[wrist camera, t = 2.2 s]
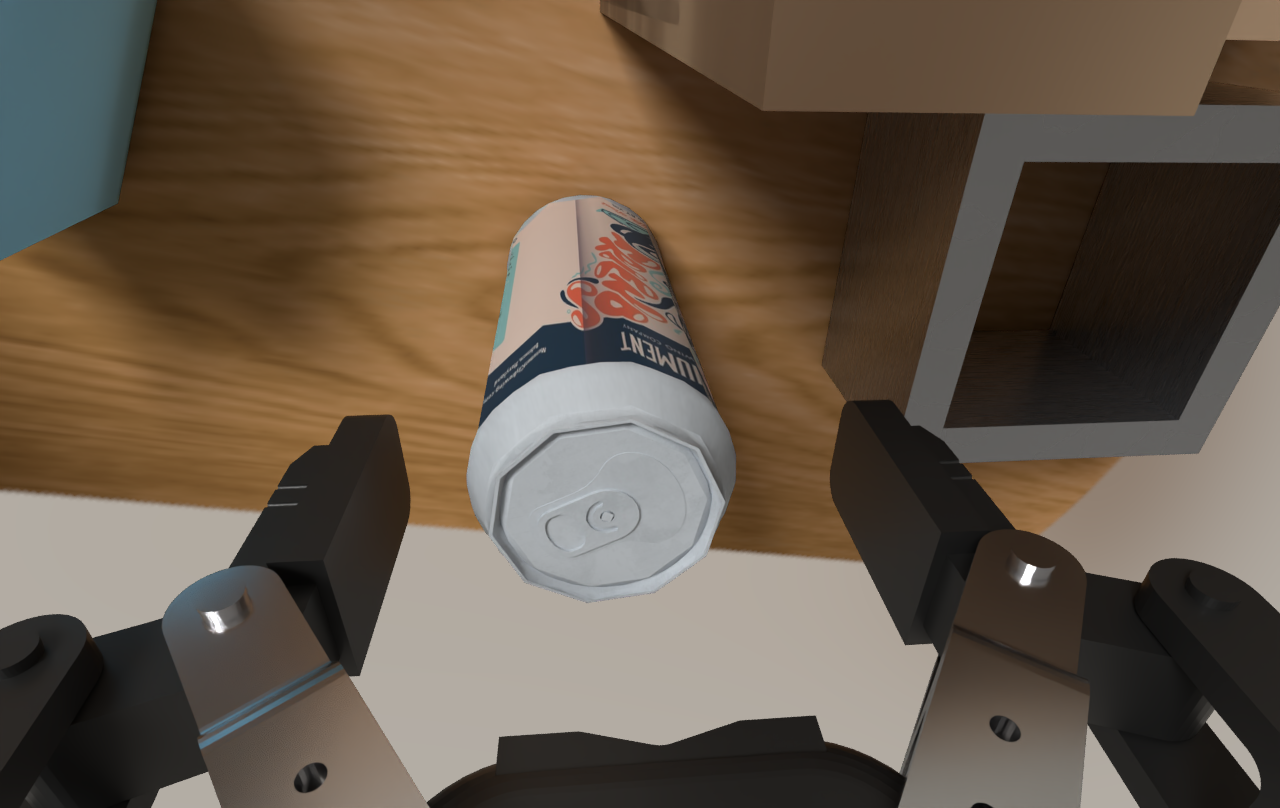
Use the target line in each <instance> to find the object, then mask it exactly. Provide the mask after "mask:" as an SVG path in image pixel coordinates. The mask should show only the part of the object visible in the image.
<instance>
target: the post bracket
mask: <svg viewBox="0 0 1280 808" xmlns="http://www.w3.org/2000/svg"><path fill="white" fill-rule="evenodd" d="M1024 162H1111V164H1110V167H1109V170H1108V173H1107V175H1106V178H1105V181H1104V183H1103V186H1102V189H1101V192H1100V194H1099V197H1098V200H1097V202H1096V205H1095V208H1094V211H1093V213H1092V216H1091V219H1090V222H1089V224H1088V227H1087V230H1086V232H1085V235H1084V238H1083V241H1082V243H1081V246H1080V249H1079V251H1078V254H1077V257H1076V260H1075V262H1074V265H1073V268H1072V270H1071V273H1070V276H1069V279H1068V281H1067V284H1066V287H1065V289H1064V292H1063V295H1062V298H1061V300H1060V303H1059V306H1058V308H1057V311H1056V314H1055V317H1054V319H1053V322H1052V325H1051V327H1050V330H1020V331H973V328H974V325H975V321H976V318H977V315H978V312H979V308H980V305H981V302H982V298H983V295H984V292H985V289H986V285H987V282H988V279H989V275H990V272H991V269H992V266H993V262H994V259H995V256H996V252H997V249H998V246H999V243H1000V239H1001V236H1002V233H1003V229H1004V226H1005V223H1006V220H1007V216H1008V213H1009V210H1010V206H1011V203H1012V200H1013V197H1014V193H1015V190H1016V187H1017V183H1018V180H1019V177H1020V174H1021V170H1022V167H1023V164H1024ZM1279 306H1280V92H1279V91H1272V90H1265V89H1258V88H1251V87H1244V86H1237V85H1230V84H1223V83H1216V82H1209V81H1208V84H1207V86H1206V88H1205V91H1204V93H1203V96H1202V98H1201V101H1200V103H1199V105H1198V108H1197V110H1196V113H1195V115H1194V116H1152V115H1068V114H984V113H900V112H868V116H867V122H866V127H865V132H864V138H863V143H862V149H861V154H860V160H859V165H858V171H857V176H856V181H855V187H854V192H853V198H852V203H851V209H850V214H849V220H848V225H847V230H846V236H845V241H844V247H843V252H842V258H841V263H840V268H839V274H838V279H837V285H836V290H835V296H834V301H833V307H832V312H831V317H830V323H829V328H828V334H827V339H826V345H825V350H824V356H823V361H822V366H823V368H824V369H825V371H826V372H827V374H828V375H829V376H830V378H831V379H832V381H833V382H834V384H835V385H836V387H837V388H838V389H839V391H840V392H841V394H842V395H843V397H844V398H845V400H846V401H847V402H848V401H857V400H891V401H893V403H894V404H895V405H896V406H897V408H898V409H899V410H900V412H901V413H902V414H903V415H904V417H905V418H906V419H907V421H908V422H909V423H910V425H911V426H917V425H920V426H922V427H923V428H925V429H926V430H928V431H929V432H931V433H932V434H934V435H935V436H937V437H938V438H940V439H942V440H943V441H944V442H945V443H946V444H947V445H948V447H949V448H950V449H951V450H952V451H953V453H954V454H955V455H956V456H957V458H958V459H959V463H972V462H997V461H1021V460H1046V459H1071V458H1096V457H1121V456H1144V455H1170V454H1193V453H1194V454H1195V453H1199V452H1200V450H1201V448H1202V446H1203V444H1204V443H1205V441H1206V439H1207V437H1208V435H1209V433H1210V431H1211V430H1212V428H1213V426H1214V424H1215V423H1216V421H1217V419H1218V417H1219V415H1220V413H1221V411H1222V410H1223V408H1224V406H1225V404H1226V402H1227V401H1228V399H1229V397H1230V395H1231V393H1232V391H1233V390H1234V388H1235V386H1236V384H1237V382H1238V381H1239V379H1240V377H1241V375H1242V373H1243V371H1244V370H1245V368H1246V366H1247V364H1248V362H1249V360H1250V359H1251V357H1252V355H1253V353H1254V351H1255V350H1256V348H1257V346H1258V344H1259V342H1260V340H1261V339H1262V337H1263V335H1264V333H1265V331H1266V329H1267V328H1268V326H1269V324H1270V322H1271V320H1272V319H1273V317H1274V315H1275V313H1276V311H1277V309H1278V308H1279Z"/></svg>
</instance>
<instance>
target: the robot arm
mask: <svg viewBox="0 0 1280 808" xmlns="http://www.w3.org/2000/svg"><path fill="white" fill-rule="evenodd" d="M830 487H831V494H832V498H833V501H834V503H835V506H836V508H837V510H838V512H839V514H840V516H841V518H842V520H843V522H844V524H845V526H846V528H847V530H848V532H849V534H850V536H851V538H852V540H853V542H854V544H855V546H856V548H857V550H858V552H859V554H860V556H861V558H862V560H863V562H864V564H865V566H866V567H867V569H868V572H869V574H870V575H871V578H872V580H873V582H874V584H875V586H876V588H877V590H878V592H879V594H880V596H881V598H882V600H883V601H884V604H885V605H886V608H887V610H888V611H889V614H890V616H891V617H892V619H893V621H894V623H895V626H896V628H897V630H898V631H899V634H900V636H901V637H902V639H903V642H904V644H905V645H915V644H932V643H933V645H934V647H935V649H936V650H937V652H938V657H937V660H936V662H935V665H934V668H933V671H932V674H931V677H930V680H929V684H928V687H927V690H926V693H925V696H924V699H923V702H922V705H921V708H920V712H919V715H918V718H917V721H916V724H915V727H914V730H913V734H912V736H911V740H910V743H909V746H908V749H907V752H906V755H905V758H904V761H903V764H902V767H901V770H900V773H898V772H896V771H895V770H894V769H892V768H891V767H889V766H887V765H885V764H883V763H882V762H880V761H878V760H876V759H874V758H872V757H870V756H868V755H866V754H863V753H861V752H859V751H856V750H854V749H850V748H848V747H844V746H841V745H838V744H834V743H829V742H825V741H824V740H823V737H822V734H821V731H820V728H819V725H818V722H817V719H816V716H801V717H787V718H772V719H758V720H742V721H737V722H734V723H731V724H728V725H725V726H722V727H719V728H716V729H714V730H710V731H707V732H705V733H702V734H698V735H696V736H693V737H690V738H687V739H684V740H681V741H678V742H675V743H672V744H668V745H660V746H659V745H651V744H645V743H640V742H634V741H629V740H623V739H617V738H612V737H606V736H601V735H595V734H590V733H584V732H565V733H550V734H536V735H521V736H505V737H499V744H498V754H497V764H494V765H491V766H488V767H485V768H482V769H480V770H478V771H476V772H474V773H472V774H469V775H467V776H465V777H463V778H461V779H460V780H458V781H456V782H455V783H453V784H451V785H450V786H448V787H447V788H445V789H444V790H442V791H441V792H440V793H438V794H437V795H436V796H434V797H433V798H432V799H430V800H429V801H428V802H427V803H426V801H425V800H424V798H423V796H422V795H421V793H420V791H419V790H418V788H417V787H416V785H415V783H414V782H413V780H412V778H411V777H410V775H409V774H408V772H407V770H406V769H405V767H404V765H403V764H402V762H401V760H400V759H399V757H398V756H397V754H396V752H395V751H394V749H393V748H392V746H391V744H390V743H389V741H388V739H387V738H386V736H385V734H384V733H383V731H382V730H381V728H380V726H379V725H378V723H377V721H376V720H375V718H374V717H373V715H372V714H371V712H370V710H369V708H368V707H367V705H366V704H365V702H364V700H363V699H362V697H361V695H360V694H359V692H358V691H357V689H356V687H355V686H354V684H353V682H352V681H351V679H350V678H349V676H360V673H361V670H362V667H363V664H364V660H365V657H366V654H367V651H368V647H369V644H370V641H371V638H372V634H373V632H374V628H375V625H376V622H377V619H378V615H379V612H380V609H381V606H382V603H383V600H384V596H385V593H386V590H387V587H388V583H389V580H390V577H391V574H392V571H393V568H394V564H395V561H396V558H397V555H398V552H399V549H400V545H401V542H402V539H403V536H404V532H405V529H406V526H407V523H408V519H409V514H410V487H409V482H408V477H407V472H406V467H405V463H404V458H403V453H402V448H401V443H400V439H399V434H398V429H397V425H396V422H395V419H394V417H393V416H392V415H362V416H346V417H345V418H344V419H343V420H342V422H341V424H340V426H339V427H338V429H337V431H336V433H335V435H334V437H333V439H332V440H331V442H330V444H329V445H320V446H313V447H312V448H311V449H309V450H308V451H307V452H306V453H304V454H303V455H302V456H301V457H299V458H298V459H297V460H295V461H294V462H293V463H292V464H290V466H289V468H288V469H287V471H286V473H285V475H284V476H283V478H282V480H281V481H280V483H279V485H278V490H275V491H274V493H273V495H272V496H271V498H270V500H269V501H268V507H266V508H264V510H263V511H262V513H261V515H260V517H259V518H258V520H257V522H256V523H255V525H254V527H253V528H252V530H251V532H250V533H249V535H248V537H247V538H246V540H245V542H244V543H243V545H242V547H241V548H240V550H239V552H238V553H237V555H236V557H235V559H234V560H233V562H232V564H231V565H230V567H229V568H228V569H224V570H221V571H218V572H215V573H213V574H210V575H208V576H206V577H204V578H202V579H200V580H198V581H197V582H195V583H194V584H192V585H190V586H189V587H188V588H186V589H185V590H184V591H182V592H181V593H180V594H179V595H178V596H177V597H176V598H175V599H174V600H173V602H172V603H171V604H170V605H169V607H168V609H167V610H166V612H165V614H164V617H163V618H162V619H158V620H155V621H152V622H149V623H145V624H142V625H138V626H134V627H130V628H127V629H123V630H120V631H117V632H113V633H109V634H105V635H102V636H98V637H95V638H92V637H91V635H90V633H89V632H88V630H87V628H86V627H85V625H84V624H83V623H82V622H81V621H80V620H79V619H77V618H76V617H72V616H69V615H61V614H56V615H55V614H53V615H44V616H38V617H34V618H30V619H26V620H23V621H20V622H17V623H14V624H12V625H10V626H7V627H5V628H2V629H1V630H0V808H151V806H152V804H153V802H154V800H155V798H156V796H157V793H158V791H159V789H160V788H163V787H166V786H169V785H172V784H174V783H177V782H180V781H183V780H186V779H188V778H191V777H194V776H197V775H200V774H203V773H205V772H209V775H210V777H211V780H212V783H213V786H214V788H215V791H216V794H217V797H218V799H219V802H220V805H221V808H1080V802H1081V792H1082V780H1083V769H1084V757H1085V745H1086V734H1087V724H1088V726H1089V727H1090V729H1091V731H1092V732H1093V734H1094V735H1095V737H1096V738H1097V740H1098V742H1099V743H1100V745H1101V747H1102V748H1103V750H1104V751H1105V753H1106V754H1107V756H1108V758H1109V759H1110V761H1111V762H1112V764H1113V766H1114V767H1115V769H1116V770H1117V772H1118V774H1119V775H1120V777H1121V778H1122V780H1123V782H1124V783H1125V785H1126V786H1127V788H1128V790H1129V791H1130V793H1131V794H1132V796H1133V798H1134V799H1135V801H1136V802H1137V804H1138V806H1139V807H1140V808H1280V613H1279V612H1278V611H1277V610H1276V609H1275V608H1274V607H1273V606H1272V605H1271V604H1270V603H1269V602H1267V601H1266V600H1265V599H1264V598H1263V597H1262V596H1261V595H1260V594H1259V593H1258V592H1257V591H1255V590H1254V589H1253V588H1252V587H1250V586H1249V585H1248V584H1246V583H1245V582H1243V581H1242V580H1240V579H1238V578H1237V577H1235V576H1233V575H1231V574H1229V573H1227V572H1225V571H1223V570H1221V569H1218V568H1216V567H1214V566H1211V565H1208V564H1205V563H1202V562H1198V561H1194V560H1188V559H1177V558H1171V559H1164V560H1160V561H1158V562H1156V563H1155V564H1153V565H1152V566H1151V568H1150V570H1149V572H1148V573H1147V575H1146V577H1145V579H1144V581H1143V582H1142V583H1140V582H1134V581H1129V580H1123V579H1118V578H1112V577H1106V576H1101V575H1095V574H1090V573H1086V572H1085V571H1084V569H1083V567H1082V566H1081V564H1080V563H1079V562H1078V561H1077V559H1076V558H1075V557H1074V556H1073V555H1072V554H1071V553H1070V552H1068V551H1067V550H1065V549H1064V548H1063V547H1061V546H1060V545H1058V544H1056V543H1055V542H1053V541H1051V540H1049V539H1047V538H1045V537H1042V536H1040V535H1037V534H1034V533H1030V532H1026V531H1021V530H1016V529H1015V528H1014V527H1013V526H1012V524H1011V523H1010V522H1009V521H1008V519H1007V518H1006V517H1005V516H1004V515H1003V513H1002V512H1001V511H1000V510H999V508H998V507H997V506H996V505H995V503H994V502H993V501H992V500H991V498H990V497H989V496H988V495H987V494H986V492H985V491H984V490H983V489H982V487H981V486H980V485H979V484H978V482H977V481H976V480H975V479H972V475H971V474H970V472H969V471H968V470H967V469H966V468H965V466H964V465H963V464H960V463H959V459H958V458H957V456H956V455H955V454H954V453H953V451H952V450H951V449H950V448H949V447H948V445H947V444H946V443H945V442H944V441H943V440H942V439H940V438H938V437H937V436H935V435H934V434H932V433H931V432H929V431H928V430H926V429H925V428H923V427H922V426H920V425H917V426H911V425H910V423H909V422H908V421H907V419H906V418H905V417H904V415H903V414H902V413H901V412H900V410H899V409H898V408H897V406H896V405H895V404H894V403H893V401H891V400H857V401H848V402H846V404H845V405H844V407H843V410H842V414H841V418H840V424H839V429H838V434H837V439H836V444H835V449H834V454H833V459H832V465H831V470H830ZM1214 710H1216V711H1217V713H1218V714H1219V715H1220V716H1221V717H1222V719H1223V720H1224V721H1225V722H1226V724H1227V725H1228V726H1229V727H1230V728H1231V730H1232V731H1233V732H1234V733H1235V735H1236V736H1237V737H1238V738H1239V740H1240V741H1241V742H1242V743H1243V744H1244V746H1245V747H1246V748H1247V749H1248V751H1249V752H1250V753H1251V755H1252V757H1253V758H1254V760H1255V762H1256V765H1257V767H1258V770H1259V773H1260V778H1261V790H1259V789H1258V788H1257V786H1256V785H1255V784H1254V783H1253V781H1252V780H1251V779H1250V778H1249V776H1248V775H1247V774H1246V772H1245V771H1244V770H1243V769H1242V767H1241V766H1240V765H1239V764H1238V762H1237V761H1236V760H1235V759H1234V757H1233V756H1232V755H1231V753H1230V752H1229V751H1228V750H1227V749H1226V747H1225V746H1224V745H1223V743H1222V742H1221V741H1220V740H1219V738H1218V737H1217V736H1216V734H1215V733H1214V732H1213V731H1212V729H1211V728H1210V727H1209V726H1208V724H1207V723H1206V721H1207V719H1208V718H1209V717H1210V715H1211V714H1212V713H1213V711H1214Z"/></svg>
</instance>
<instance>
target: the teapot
mask: <svg viewBox="0 0 1280 808" xmlns="http://www.w3.org/2000/svg"><path fill="white" fill-rule="evenodd" d="M156 4H157V0H0V260H2V259H4V258H6V257H8V256H10V255H12V254H14V253H17V252H19V251H21V250H23V249H25V248H27V247H29V246H31V245H33V244H35V243H37V242H39V241H41V240H43V239H45V238H47V237H50V236H52V235H54V234H56V233H58V232H60V231H62V230H64V229H66V228H68V227H70V226H72V225H74V224H76V223H78V222H81V221H83V220H85V219H87V218H89V217H91V216H93V215H95V214H97V213H99V212H101V211H103V210H105V209H107V208H109V207H111V206H114V205H116V204H118V201H119V196H120V191H121V186H122V181H123V176H124V171H125V166H126V161H127V156H128V150H129V145H130V140H131V135H132V130H133V125H134V119H135V114H136V109H137V104H138V99H139V94H140V88H141V83H142V78H143V73H144V68H145V62H146V57H147V52H148V47H149V41H150V36H151V31H152V25H153V20H154V15H155V10H156Z"/></svg>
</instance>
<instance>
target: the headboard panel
mask: <svg viewBox="0 0 1280 808" xmlns="http://www.w3.org/2000/svg"><path fill="white" fill-rule="evenodd" d="M600 12H601V13H603V14H604V15H606V16H608V17H609V18H611V19H612V20H614V21H616V22H617V23H619V24H621V25H622V26H624V27H626V28H627V29H629V30H631V31H632V32H634V33H635V34H637V35H639V36H640V37H642V38H644V39H645V40H647V41H649V42H650V43H652V44H654V45H655V46H657V47H658V48H660V49H662V50H663V51H665V52H667V53H668V54H670V55H672V56H673V57H675V58H676V59H678V60H680V61H681V62H683V63H685V64H686V65H688V66H690V67H691V68H693V69H695V70H696V71H698V72H699V73H701V74H703V75H704V76H706V77H708V78H709V79H711V80H713V81H714V82H716V83H718V84H719V85H721V86H722V87H724V88H726V89H727V90H729V91H731V92H732V93H734V94H736V95H737V96H739V97H740V98H742V99H744V100H745V101H747V102H749V103H750V104H752V105H754V106H755V107H757V108H759V109H760V110H762V111H816V112H900V113H984V114H1068V115H1152V116H1194V115H1195V113H1196V110H1197V108H1198V105H1199V103H1200V101H1201V98H1202V96H1203V93H1204V91H1205V88H1206V86H1207V84H1208V81H1209V79H1210V76H1211V74H1212V72H1213V69H1214V67H1215V64H1216V62H1217V59H1218V57H1219V55H1220V52H1221V50H1222V47H1223V45H1224V43H1225V40H1260V41H1280V0H600Z"/></svg>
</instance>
